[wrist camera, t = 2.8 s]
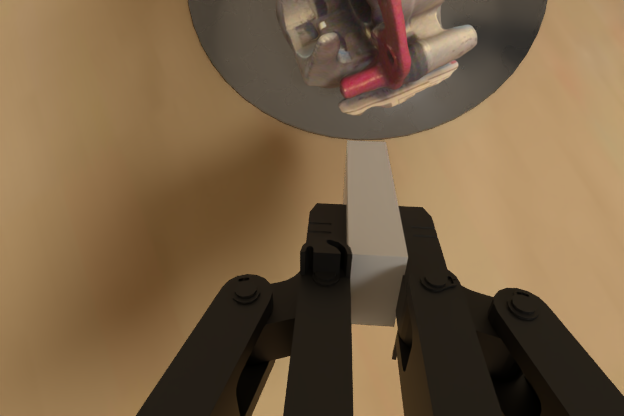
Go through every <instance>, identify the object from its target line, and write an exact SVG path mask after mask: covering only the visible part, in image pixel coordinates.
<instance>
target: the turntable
mask: <svg viewBox="0 0 624 416" xmlns="http://www.w3.org/2000/svg"><path fill="white" fill-rule="evenodd" d="M188 4H189V9H190V13H191V17H192V21H193V25H194V28H195V30H196V32H197V35H198V37H199V40H200V42H201V45H202V47H203V48H204V50H205V52H206V53H207V55H208V57H209V59H210V60H211V62H212V64H213V65H214V67H215V68H216V69H217V70H218V72H219V73H220V74H221V75H222V77H223V78H224V79H225V80H226V82H227V83H228V84H229V85H230V86H231V87H232V88H233V89H234V90H236V91H237V92H238V93H239V94H240V95H241V96H242V97H243V98H244V99H245V100H247V101H248V102H250V103H251V104H252V105H254V106H255V107H257V108H258V109H259V110H261V111H262V112H264V113H266V114H268V115H269V116H271V117H273V118H275V119H277V120H279V121H281V122H283V123H285V124H287V125H290V126H293V127H295V128H298V129H301V130H304V131H306V132H310V133H314V134H319V135H323V136H327V137H331V138H341V139H351V140H382V139H389V138H395V137H402V136H408V135H411V134H415V133H419V132H422V131H426V130H429V129H432V128H435V127H437V126H439V125H442V124H444V123H447V122H449V121H451V120H454V119H456V118H457V117H459V116H461V115H462V114H464V113H466V112H468V111H469V110H471V109H473V108H474V107H476V106H477V105H479V104H480V103H481V102H482V101H484V100H485V99H486V98H487V97H489V96H490V95H491V94H493V93H494V92H495V91H496V90H497V89H498V88H499V87H500V86H501V85H502V84H503V83H504V82H505V81H506V80H507V79H508V78H509V77H510V76H511V75H512V74H513V72H514V71H515V70H516V68H517V67H518V65H519V64H520V63H521V61H522V60H523V59H524V57H525V56H526V54H527V53H528V51H529V49H530V47H531V45H532V43H533V41H534V39H535V38H536V36H537V34H538V31H539V28H540V25H541V22H542V20H543V17H544V14H545V10H546V4H547V0H445V1H444V2H443V3H442V5H441V11H440V13H441V26H442V28H444V29H448V28H452V27H457V26H462V25H471V26H472V27H473V28H474V29H475V31H476V33H477V44H476V45H475V46H474V47H473V48H472V49H471V50H469V51H468V52H467V53H465V54H464V55H463V56H461V57H460V58H458V59H455V61H457V62H458V68H457V69H456V70H455V71H454V72H453V73H452V74H451V76H450V77H449V78H447V79H445V80H443V81H442V82H440V83H439V84H436V85H434V86H432V87H428V88H426V89H424V90H422V91H420V92H418V93H416V94H415V95H414V96H413V97H411V98H409V99H407V100H406V101H405V102H403V103H400V104H398V105H396V106H393V107H390V108H383V107H378V106H376V107H371V108H369V109H367V110H366V111H365V112H364V113H363V114H362V115H360V116H353V115H350V114H347V113H343V112H342V111H341V110H340V108H339V107H338V104H339V103H340V102H342V101H344V100H345V99H347V98H344V97H343V96H342V94H341V92H340V87H337V88H323V87H318V86H308V85H307V84H306V83H305V82H304V80H303V78H302V75H301V73H300V70H299V67H298V65H297V62H296V59H295V56H294V53H293V51H292V49H291V47H290V46H289V44H288V42H287V41H286V39H285V37H284V35H283V33H282V30H281V28H280V25H279V23H278V20H277V17H276V0H188Z"/></svg>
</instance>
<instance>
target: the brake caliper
mask: <svg viewBox="0 0 624 416" xmlns="http://www.w3.org/2000/svg"><path fill="white" fill-rule="evenodd" d="M444 1H445V0H276V17H277V20H278V23H279V25H280V28H281V30H282V33H283V35H284V37H285V39H286V41H287V42H288V44H289V46H290V47H291V49H292V51H293V53H294V56H295V59H296V62H297V65H298V67H299V70H300V73H301V75H302V78H303V80H304V82H305V83H306V84H307V85H308V86H318V87H323V88H337V87H340V92H341V94H342V96H343V97H344V98H347V99H345V100H344V101H342V102H340V103H339V104H338V107H339V108H340V110H341V111H342V112H343V113H347V114H350V115H353V116H360V115H362V114H363V113H364V112H365V111H366V110H367V109H369V108H371V107H376V106H378V107H383V108H390V107H393V106H396V105H398V104H400V103H403V102H405V101H406V100H407V99H409V98H411V97H413V96H414V95H415V94H416V93H418V92H420V91H422V90H424V89H426V88H428V87H432V86H434V85H436V84H439V83H440V82H442V81H443V80H445V79H447V78H449V77H450V76H451V74H452V73H453V72H454V71H455V70H456V69H457V68H458V62H457V61H455V59H458V58H460V57H461V56H463V55H464V54H465V53H467V52H468V51H469V50H471V49H472V48H473V47H474V46H475V45H476V44H477V33H476V31H475V29H474V28H473V27H472V26H471V25H462V26H457V27H452V28H448V29H444V28H442V26H441V13H440V11H441V5H442V3H443V2H444Z"/></svg>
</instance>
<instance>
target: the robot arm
mask: <svg viewBox="0 0 624 416" xmlns="http://www.w3.org/2000/svg"><path fill="white" fill-rule="evenodd" d="M396 318H397V326H398V331H397V336H396V340H395V345H394V350H393V356H392V359H394V360H396V357H397V359H398V367H399V375H400V384H401V392H402V400H403V409H404V416H624V396H623V395H622V394H621V392H620V391H619V390H618V389H617V388H616V387H615V385H614V384H613V383H612V382H611V381H610V379H609V378H608V377H607V376H606V375H605V373H604V372H603V371H602V370H601V369H600V367H599V366H598V365H597V364H596V363H595V362H594V360H593V359H592V358H591V357H590V356H589V354H588V353H587V352H586V351H585V350H584V348H583V347H582V346H581V345H580V344H579V342H578V341H577V340H576V339H575V338H574V337H573V335H572V334H571V333H570V332H569V331H568V329H567V328H566V327H565V326H564V325H563V323H562V322H561V321H560V320H559V319H558V317H557V316H556V315H555V314H554V313H553V311H552V310H551V309H550V308H549V307H548V306H547V304H546V303H544V302H543V301H542V300H541V299H540V298H539V297H537V296H536V295H534V294H532V293H530V292H528V291H525V290H521V289H518V288H505V289H502V290H499V291H498V292H497V293H496V295H495V296H494V297H491V296H487V295H484V294H481V293H477V292H474V291H472V290H469V289H467V288H465V287H463V286H461V284H460V282H459V280H458V279H457V277H456V276H455V275H454V274H453V273H451V272H450V271H449V270H447V267H446V263H445V260H444V257H443V253H442V250H441V247H440V243H439V240H438V238H437V233H436V230H435V227H434V223H433V220H432V217H431V216H430V215H429V214H428V213H427V212H426V211H425V209H424V208H423V207H405V206H398V202H397V197H396V192H395V186H394V181H393V176H392V171H391V166H390V161H389V155H388V150H387V145H386V142H375V141H350V140H347V149H346V163H345V178H344V192H343V205H342V204H321V203H317V204H316V205H315V206H314V208H313V209H312V210H311V211H310V215H309V224H308V233H307V240H306V243H305V244H304V245H303V246H302V249H301V251H300V272H299V273H298V274H296V275H295V276H294V277H292V278H290V279H288V280H285V281H282V282H278V283H273V284H270V283H269V282H268V281H267V280H266V279H265V278H263V277H260V276H258V275H251V274H246V275H241V276H237V277H235V278H233V279H231V280H229V281H228V282H227V283H226V284H225V285H224V286H223V287H222V288H221V290H220V291H219V293H218V294H217V296H216V297H215V299H214V300H213V302H212V303H211V305H210V306H209V308H208V309H207V311H206V312H205V314H204V315H203V317H202V318H201V320H200V321H199V323H198V324H197V326H196V327H195V329H194V330H193V331H192V333H191V334H190V336H189V337H188V339H187V340H186V342H185V343H184V345H183V346H182V348H181V349H180V351H179V352H178V354H177V355H176V357H175V358H174V360H173V361H172V363H171V364H170V366H169V367H168V369H167V370H166V372H165V373H164V375H163V376H162V378H161V379H160V381H159V382H158V383H157V385H156V386H155V388H154V389H153V391H152V392H151V394H150V395H149V397H148V398H147V400H146V401H145V403H144V404H143V406H142V407H141V409H140V410H139V412H138V413H137V415H136V416H252V413H253V411H254V409H255V406H256V404H257V402H258V400H259V397H260V395H261V393H262V390H263V388H264V386H265V383H266V381H267V379H268V377H269V374H270V372H271V370H272V367H273V365H274V363H275V359H279V358H283V357H287V356H290V364H289V373H288V381H287V389H286V397H285V405H284V414H283V416H353V380H352V333H351V324H361V325H377V326H393V327H394V324H395V319H396Z"/></svg>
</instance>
